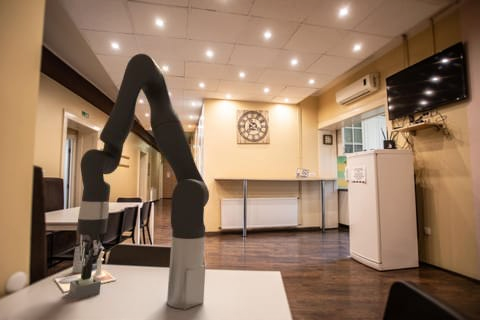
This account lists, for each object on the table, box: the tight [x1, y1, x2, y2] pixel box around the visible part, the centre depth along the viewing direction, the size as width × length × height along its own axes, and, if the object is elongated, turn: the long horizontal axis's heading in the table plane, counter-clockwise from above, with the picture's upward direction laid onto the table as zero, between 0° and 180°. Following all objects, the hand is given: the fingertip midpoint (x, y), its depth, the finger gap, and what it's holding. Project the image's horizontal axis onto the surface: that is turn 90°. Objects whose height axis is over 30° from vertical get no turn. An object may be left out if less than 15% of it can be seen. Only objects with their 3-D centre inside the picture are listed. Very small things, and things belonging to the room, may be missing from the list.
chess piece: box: [91, 245, 107, 280], centre depth 77 cm, size 5×5×10 cm
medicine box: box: [72, 243, 103, 274], centre depth 86 cm, size 8×4×9 cm, turn 171°
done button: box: [78, 276, 94, 285], centre depth 66 cm, size 4×4×2 cm
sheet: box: [54, 269, 117, 294], centre depth 75 cm, size 13×14×1 cm
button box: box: [68, 276, 102, 301], centre depth 66 cm, size 6×6×3 cm
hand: (85, 278), depth 66 cm, fingers closed
